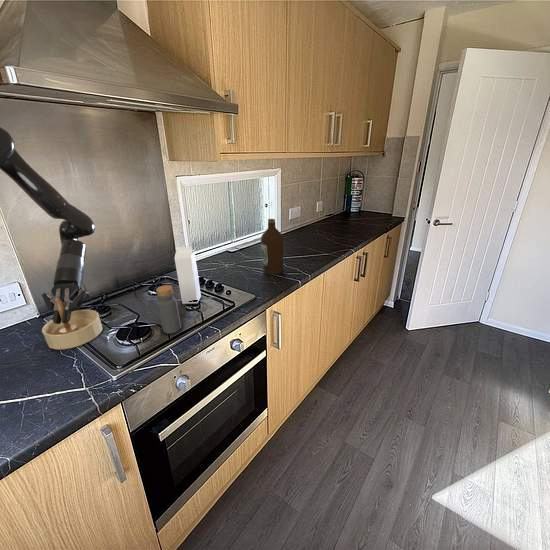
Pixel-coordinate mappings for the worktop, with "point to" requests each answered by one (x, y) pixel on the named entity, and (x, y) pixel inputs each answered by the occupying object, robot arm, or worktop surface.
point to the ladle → (67, 326)
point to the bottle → (168, 309)
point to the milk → (187, 275)
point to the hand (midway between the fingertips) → (61, 323)
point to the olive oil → (272, 249)
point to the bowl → (86, 331)
